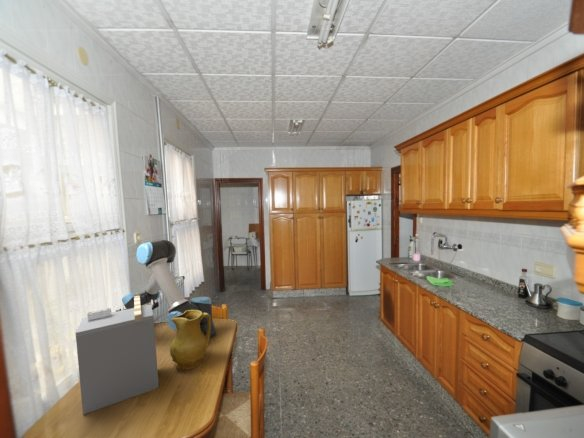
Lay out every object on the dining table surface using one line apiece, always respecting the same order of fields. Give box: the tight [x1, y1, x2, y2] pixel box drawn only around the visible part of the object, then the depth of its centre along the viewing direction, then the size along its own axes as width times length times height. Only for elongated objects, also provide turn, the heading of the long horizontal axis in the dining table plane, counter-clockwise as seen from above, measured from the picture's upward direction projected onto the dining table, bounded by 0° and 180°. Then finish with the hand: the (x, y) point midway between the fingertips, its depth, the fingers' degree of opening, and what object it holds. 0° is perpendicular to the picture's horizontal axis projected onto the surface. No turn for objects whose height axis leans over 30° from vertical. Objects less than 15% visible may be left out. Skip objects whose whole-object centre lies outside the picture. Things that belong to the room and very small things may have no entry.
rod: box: [134, 295, 142, 322], centre depth 120 cm, size 30×2×2 cm, turn 31°
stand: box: [75, 303, 160, 416], centre depth 113 cm, size 16×26×32 cm, turn 121°
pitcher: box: [169, 310, 211, 371], centre depth 131 cm, size 17×19×25 cm
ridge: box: [86, 307, 112, 321], centre depth 113 cm, size 2×8×3 cm, turn 121°
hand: (137, 305), depth 138 cm, fingers open, 13 cm apart
